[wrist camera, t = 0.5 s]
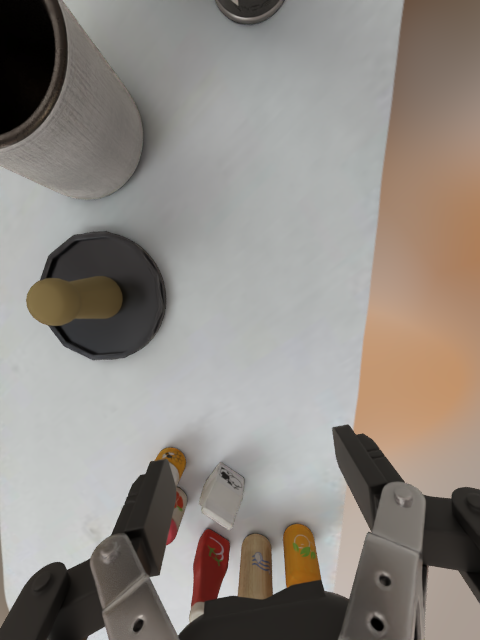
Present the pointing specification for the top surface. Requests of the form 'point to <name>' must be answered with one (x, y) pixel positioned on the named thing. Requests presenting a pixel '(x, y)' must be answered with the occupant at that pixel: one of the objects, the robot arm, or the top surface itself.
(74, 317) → the cork
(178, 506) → the toy food
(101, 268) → the metal plate
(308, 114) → the top surface
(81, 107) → the planter
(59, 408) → the top surface
